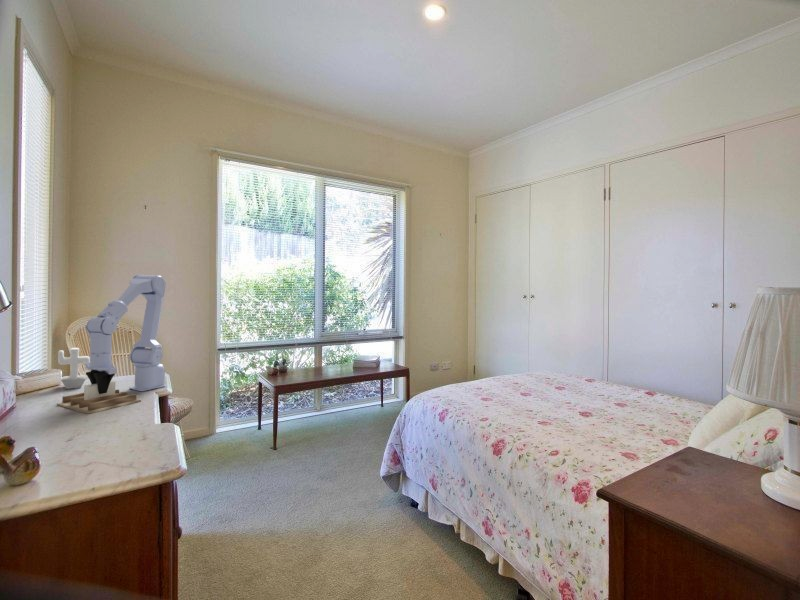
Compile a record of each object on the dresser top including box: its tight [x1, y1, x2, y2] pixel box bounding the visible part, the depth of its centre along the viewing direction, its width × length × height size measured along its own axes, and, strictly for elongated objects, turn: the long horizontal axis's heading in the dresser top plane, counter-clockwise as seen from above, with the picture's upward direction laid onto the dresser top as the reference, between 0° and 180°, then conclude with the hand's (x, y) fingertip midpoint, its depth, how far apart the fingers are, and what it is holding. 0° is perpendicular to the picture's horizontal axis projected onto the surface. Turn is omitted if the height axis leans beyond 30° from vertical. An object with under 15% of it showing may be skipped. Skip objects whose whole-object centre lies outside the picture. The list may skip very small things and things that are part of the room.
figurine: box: [57, 347, 90, 390], centre depth 148 cm, size 7×9×15 cm
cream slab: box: [83, 380, 116, 400], centre depth 130 cm, size 8×2×6 cm, turn 155°
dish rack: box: [56, 389, 142, 415], centre depth 130 cm, size 16×18×3 cm
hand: (100, 392), depth 130 cm, fingers closed on cream slab, 2 cm apart
